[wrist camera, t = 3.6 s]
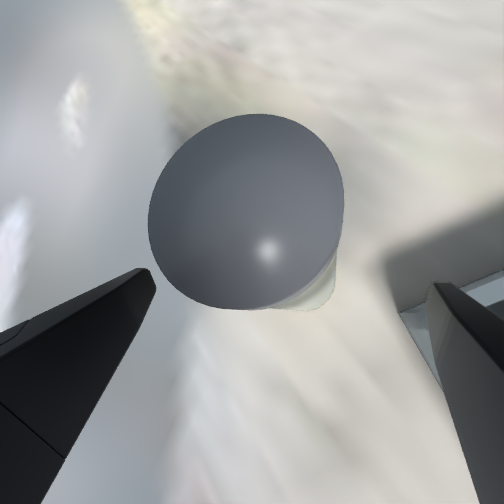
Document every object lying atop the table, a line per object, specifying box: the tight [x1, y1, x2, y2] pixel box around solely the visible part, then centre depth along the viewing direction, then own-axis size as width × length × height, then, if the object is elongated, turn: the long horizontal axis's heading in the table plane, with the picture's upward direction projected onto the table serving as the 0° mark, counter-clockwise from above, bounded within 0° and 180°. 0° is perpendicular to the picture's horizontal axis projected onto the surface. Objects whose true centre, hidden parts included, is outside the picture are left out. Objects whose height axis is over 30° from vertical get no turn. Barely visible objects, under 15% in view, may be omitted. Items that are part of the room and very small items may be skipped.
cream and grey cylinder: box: [148, 114, 344, 311], centre depth 11 cm, size 4×4×12 cm
